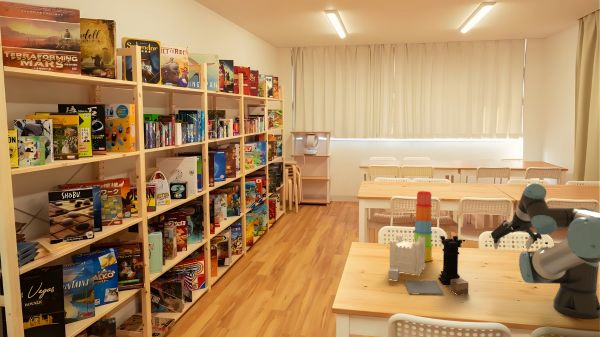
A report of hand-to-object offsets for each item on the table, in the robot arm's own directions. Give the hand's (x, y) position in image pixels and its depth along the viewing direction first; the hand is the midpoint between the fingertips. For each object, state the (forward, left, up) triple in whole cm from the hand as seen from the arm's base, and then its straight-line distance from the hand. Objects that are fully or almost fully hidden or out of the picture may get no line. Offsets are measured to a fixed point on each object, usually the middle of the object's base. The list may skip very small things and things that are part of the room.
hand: (511, 246), depth 194 cm
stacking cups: (+28, +32, -16) cm, 46 cm away
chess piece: (-3, +27, -16) cm, 31 cm away
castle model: (+13, +43, -16) cm, 47 cm away
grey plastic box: (0, +50, -15) cm, 53 cm away
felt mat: (-10, +39, -15) cm, 44 cm away
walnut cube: (-14, +25, -15) cm, 33 cm away
